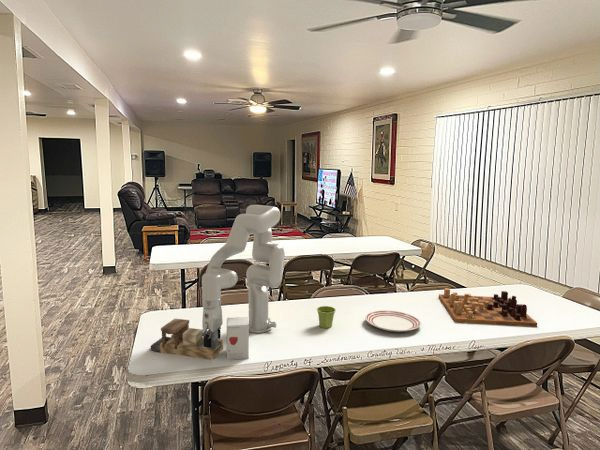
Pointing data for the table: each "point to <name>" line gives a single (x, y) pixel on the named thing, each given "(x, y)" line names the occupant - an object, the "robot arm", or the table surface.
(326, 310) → the plant pot
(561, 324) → the table surface
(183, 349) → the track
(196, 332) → the beige and grey block
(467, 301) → the gameboard
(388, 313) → the dinner plate
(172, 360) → the table surface
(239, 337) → the supplement box
